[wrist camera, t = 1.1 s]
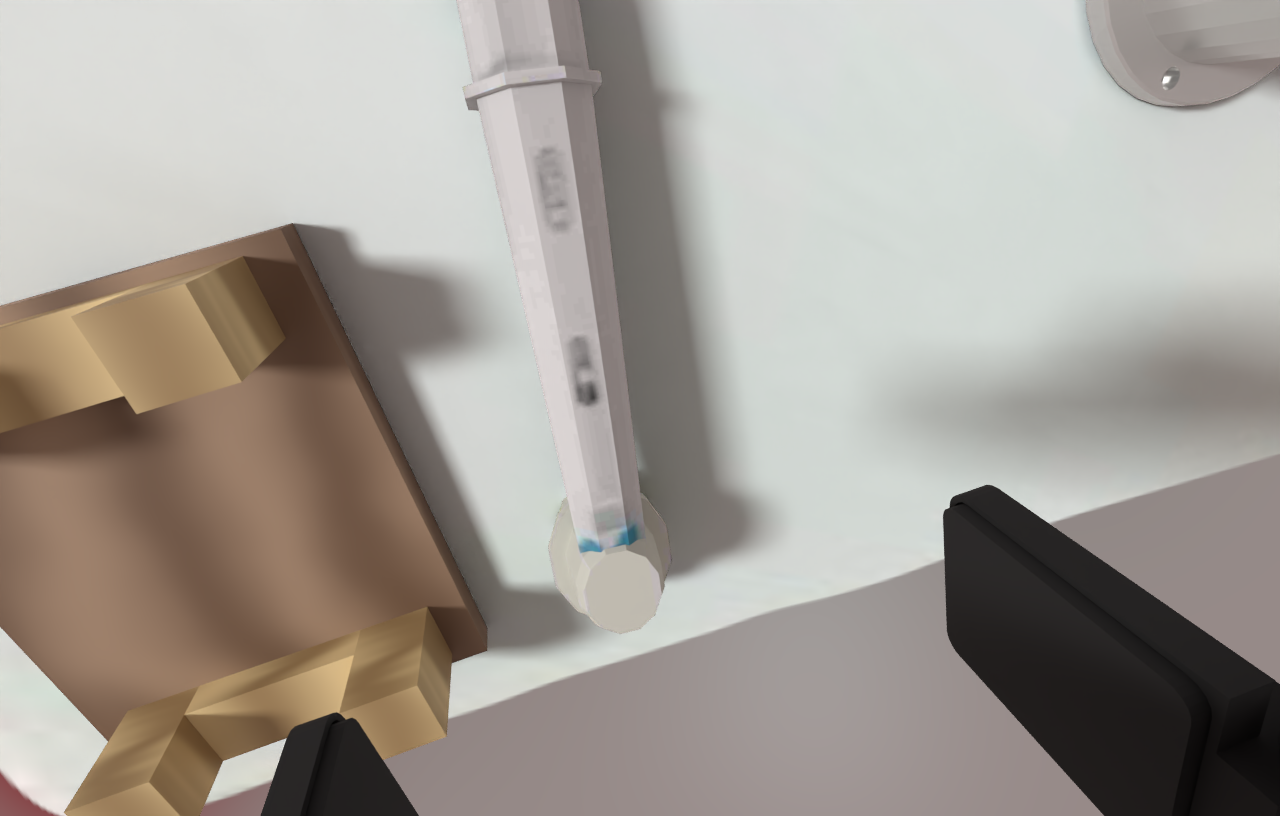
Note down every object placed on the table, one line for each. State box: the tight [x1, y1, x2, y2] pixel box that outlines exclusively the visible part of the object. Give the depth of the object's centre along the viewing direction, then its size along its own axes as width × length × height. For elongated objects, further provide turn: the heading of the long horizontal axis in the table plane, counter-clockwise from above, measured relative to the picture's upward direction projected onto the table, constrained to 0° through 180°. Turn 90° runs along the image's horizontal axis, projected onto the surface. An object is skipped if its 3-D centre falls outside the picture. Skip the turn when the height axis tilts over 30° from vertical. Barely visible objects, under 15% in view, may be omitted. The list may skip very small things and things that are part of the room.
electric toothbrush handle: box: [457, 0, 672, 634], centre depth 24 cm, size 5×7×25 cm
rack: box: [0, 223, 487, 816], centre depth 23 cm, size 16×20×6 cm
